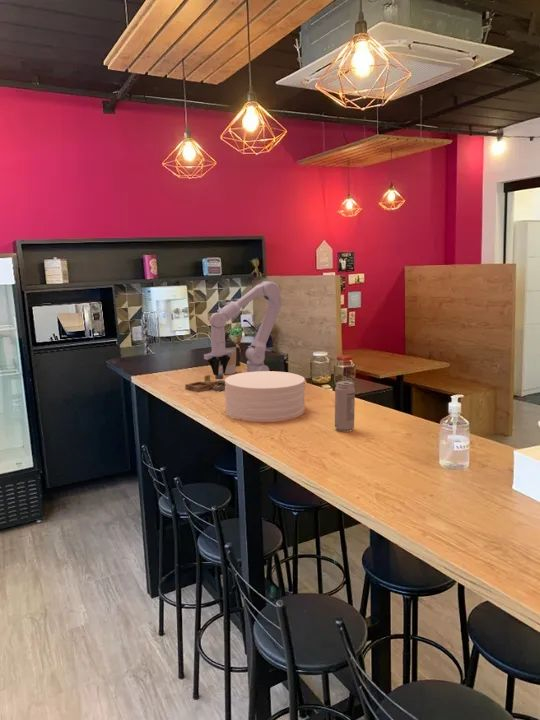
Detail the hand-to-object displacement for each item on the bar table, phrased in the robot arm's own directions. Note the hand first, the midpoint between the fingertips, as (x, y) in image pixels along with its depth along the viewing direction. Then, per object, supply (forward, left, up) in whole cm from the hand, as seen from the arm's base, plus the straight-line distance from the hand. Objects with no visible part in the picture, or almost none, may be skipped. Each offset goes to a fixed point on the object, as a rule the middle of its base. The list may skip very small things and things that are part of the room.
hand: (219, 374), depth 233 cm
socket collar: (0, 0, -5) cm, 5 cm away
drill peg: (0, 0, -2) cm, 2 cm away
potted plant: (+31, -33, -6) cm, 46 cm away
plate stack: (-40, +14, -6) cm, 42 cm away
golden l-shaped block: (+5, 0, -5) cm, 7 cm away
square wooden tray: (+3, +9, -5) cm, 11 cm away
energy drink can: (-74, +14, -6) cm, 75 cm away
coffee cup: (+18, -21, -6) cm, 28 cm away
